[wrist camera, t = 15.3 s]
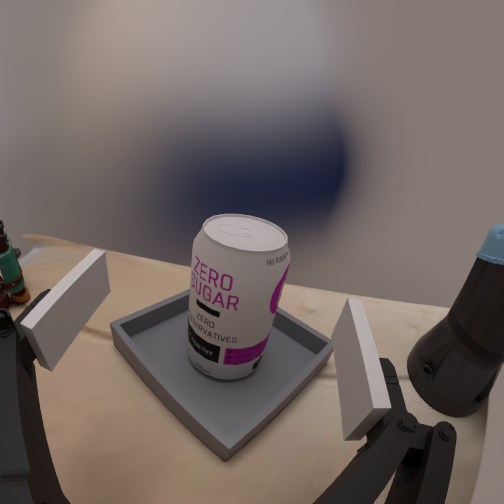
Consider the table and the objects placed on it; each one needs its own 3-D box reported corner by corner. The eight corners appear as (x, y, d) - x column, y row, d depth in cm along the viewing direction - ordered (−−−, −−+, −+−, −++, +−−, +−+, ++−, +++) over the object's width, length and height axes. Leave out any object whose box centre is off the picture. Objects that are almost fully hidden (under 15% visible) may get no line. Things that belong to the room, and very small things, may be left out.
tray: (326, 362, 33) (336, 343, 31) (224, 462, 20) (229, 449, 18) (223, 293, 42) (226, 273, 40) (114, 344, 29) (110, 323, 27)
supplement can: (262, 336, 34) (292, 222, 27) (257, 390, 27) (296, 264, 20) (197, 322, 34) (208, 205, 27) (178, 373, 27) (182, 242, 20)
